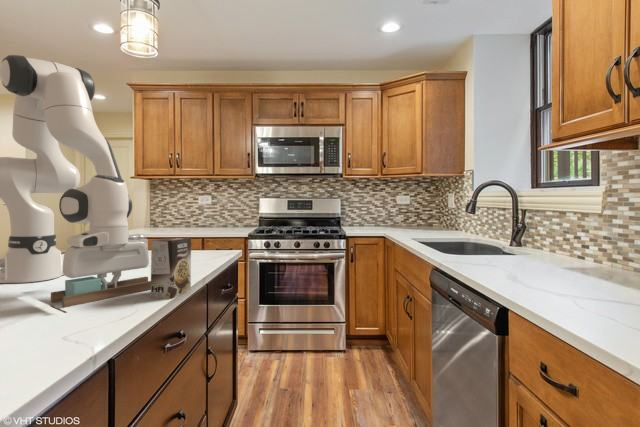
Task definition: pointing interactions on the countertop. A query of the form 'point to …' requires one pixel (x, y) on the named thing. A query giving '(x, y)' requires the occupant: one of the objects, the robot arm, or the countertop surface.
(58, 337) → the countertop surface
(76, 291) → the block
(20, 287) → the countertop surface
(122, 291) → the chute
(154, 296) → the coffee box
